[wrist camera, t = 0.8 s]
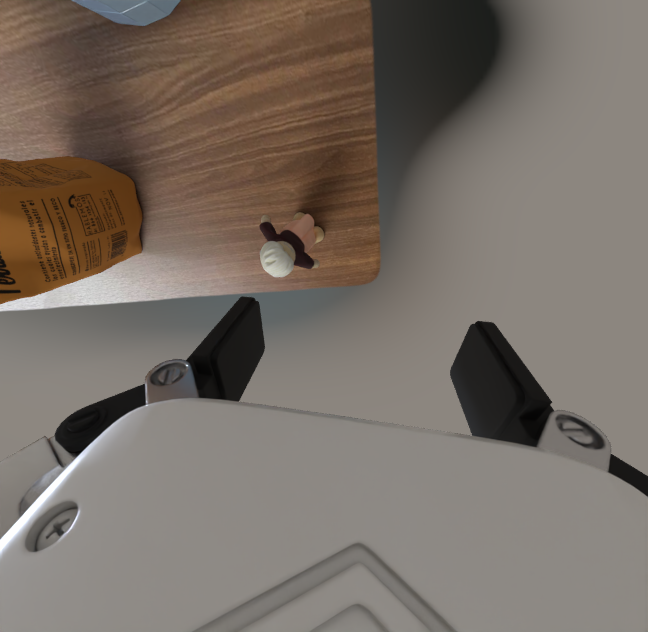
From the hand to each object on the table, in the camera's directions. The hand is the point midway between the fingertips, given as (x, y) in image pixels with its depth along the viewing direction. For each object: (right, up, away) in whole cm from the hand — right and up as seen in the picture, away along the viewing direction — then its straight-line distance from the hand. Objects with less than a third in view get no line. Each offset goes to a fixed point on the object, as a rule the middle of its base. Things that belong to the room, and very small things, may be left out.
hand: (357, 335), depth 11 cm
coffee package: (-31, +15, +23) cm, 41 cm away
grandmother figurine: (-4, +12, +21) cm, 24 cm away
